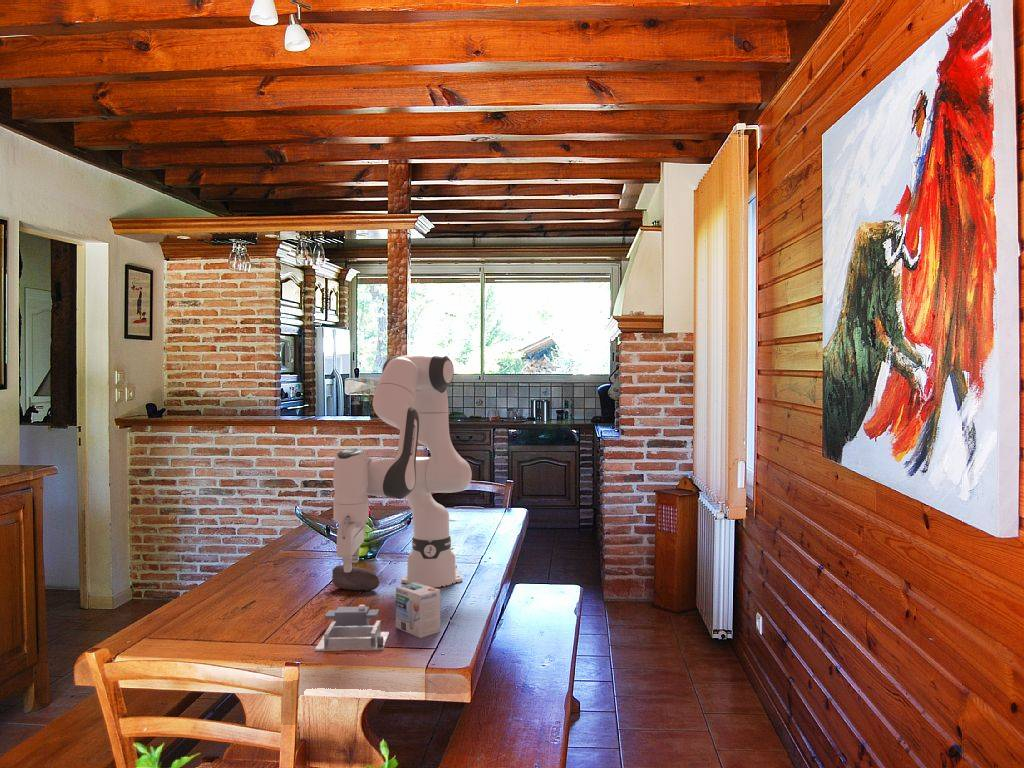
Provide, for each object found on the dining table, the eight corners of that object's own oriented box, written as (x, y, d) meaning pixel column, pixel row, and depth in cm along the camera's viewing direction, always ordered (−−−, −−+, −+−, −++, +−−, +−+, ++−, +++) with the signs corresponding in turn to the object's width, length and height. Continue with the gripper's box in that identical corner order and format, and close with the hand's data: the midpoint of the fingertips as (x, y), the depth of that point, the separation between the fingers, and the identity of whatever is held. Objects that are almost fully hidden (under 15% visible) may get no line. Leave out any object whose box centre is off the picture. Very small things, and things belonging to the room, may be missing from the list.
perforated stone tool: (383, 589, 228) (383, 566, 228) (374, 594, 224) (374, 571, 223) (340, 585, 234) (339, 562, 233) (330, 590, 229) (330, 567, 228)
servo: (328, 626, 197) (328, 603, 197) (379, 625, 197) (378, 602, 197) (325, 632, 192) (324, 608, 192) (376, 631, 192) (376, 608, 192)
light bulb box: (394, 628, 195) (394, 586, 194) (416, 621, 199) (415, 581, 199) (420, 638, 187) (420, 595, 187) (441, 631, 192) (441, 589, 191)
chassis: (325, 634, 190) (325, 620, 190) (389, 633, 190) (389, 619, 190) (314, 651, 179) (314, 635, 179) (382, 650, 179) (382, 634, 179)
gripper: (356, 520, 184) (356, 577, 184) (369, 506, 204) (370, 557, 204) (329, 521, 183) (330, 577, 184) (346, 506, 204) (346, 557, 204)
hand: (351, 566), depth 194 cm, fingers open, 8 cm apart
